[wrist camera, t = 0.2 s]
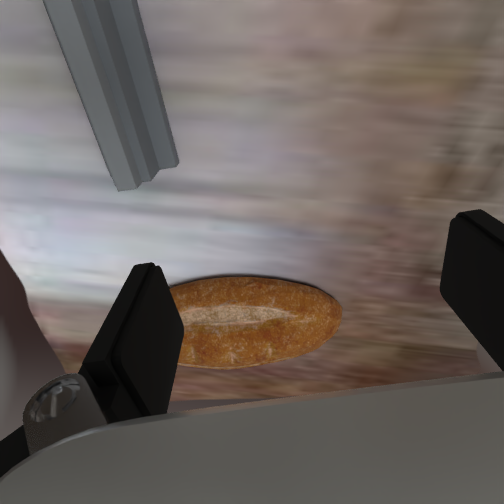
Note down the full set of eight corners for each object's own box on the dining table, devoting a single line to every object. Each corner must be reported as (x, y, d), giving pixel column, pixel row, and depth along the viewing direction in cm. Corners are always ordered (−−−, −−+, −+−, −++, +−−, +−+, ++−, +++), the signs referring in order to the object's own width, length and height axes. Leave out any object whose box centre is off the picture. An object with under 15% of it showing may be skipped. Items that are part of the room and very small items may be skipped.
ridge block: (37, -40, 29) (-26, -69, 23) (121, -57, 29) (83, -91, 22) (116, 171, 40) (90, 195, 33) (179, 162, 39) (165, 184, 33)
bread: (335, 345, 57) (349, 390, 50) (139, 356, 58) (123, 402, 50) (344, 264, 48) (362, 303, 41) (111, 278, 49) (86, 319, 41)
